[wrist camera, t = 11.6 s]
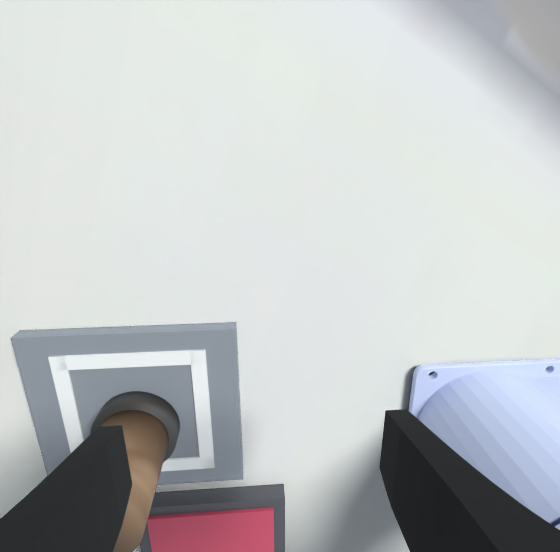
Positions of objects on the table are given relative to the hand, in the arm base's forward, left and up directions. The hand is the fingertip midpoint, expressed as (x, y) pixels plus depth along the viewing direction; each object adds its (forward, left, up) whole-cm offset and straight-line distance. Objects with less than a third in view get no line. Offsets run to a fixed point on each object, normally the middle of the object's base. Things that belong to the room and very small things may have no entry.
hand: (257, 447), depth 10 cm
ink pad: (+3, +16, -10) cm, 19 cm away
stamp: (+7, +7, -9) cm, 13 cm away
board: (+7, +6, -10) cm, 13 cm away
